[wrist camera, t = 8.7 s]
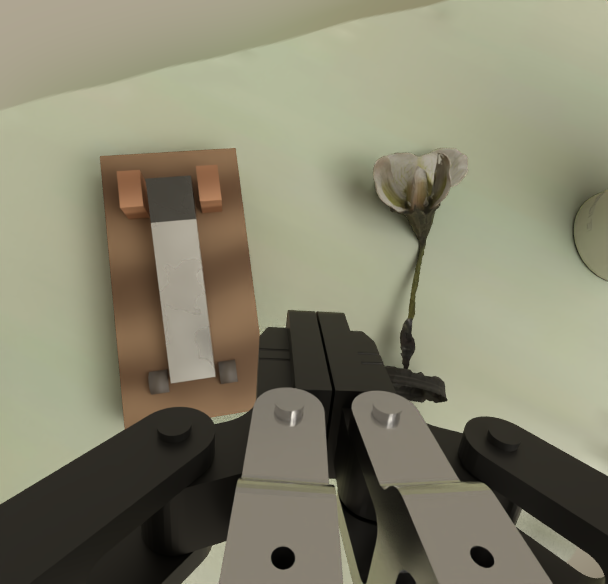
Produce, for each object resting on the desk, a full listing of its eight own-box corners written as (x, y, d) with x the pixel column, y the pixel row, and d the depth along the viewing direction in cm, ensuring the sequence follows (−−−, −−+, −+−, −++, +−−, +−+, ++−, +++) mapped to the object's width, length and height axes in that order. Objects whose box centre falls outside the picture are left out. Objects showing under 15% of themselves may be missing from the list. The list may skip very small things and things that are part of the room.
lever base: (264, 402, 36) (272, 412, 30) (137, 422, 34) (115, 438, 28) (235, 169, 38) (235, 131, 32) (113, 177, 37) (88, 139, 30)
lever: (215, 373, 32) (215, 376, 31) (172, 379, 31) (170, 383, 30) (191, 179, 32) (190, 175, 30) (148, 182, 31) (145, 178, 30)
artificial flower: (333, 388, 39) (330, 372, 29) (377, 169, 45) (386, 98, 36) (436, 411, 37) (469, 402, 28) (466, 182, 44) (501, 112, 34)
